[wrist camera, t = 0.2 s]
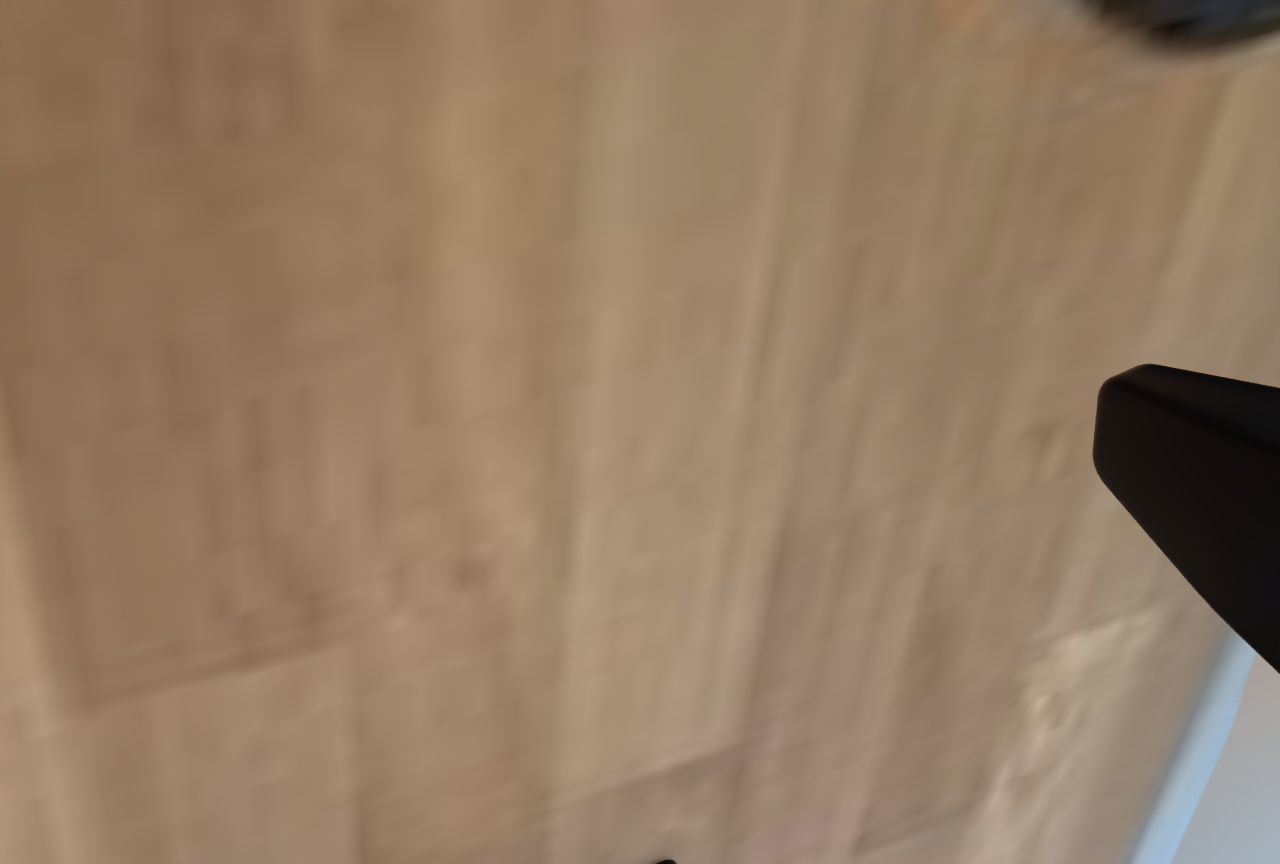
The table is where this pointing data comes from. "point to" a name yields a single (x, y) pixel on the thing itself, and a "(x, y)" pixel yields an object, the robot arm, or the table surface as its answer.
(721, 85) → the table surface
